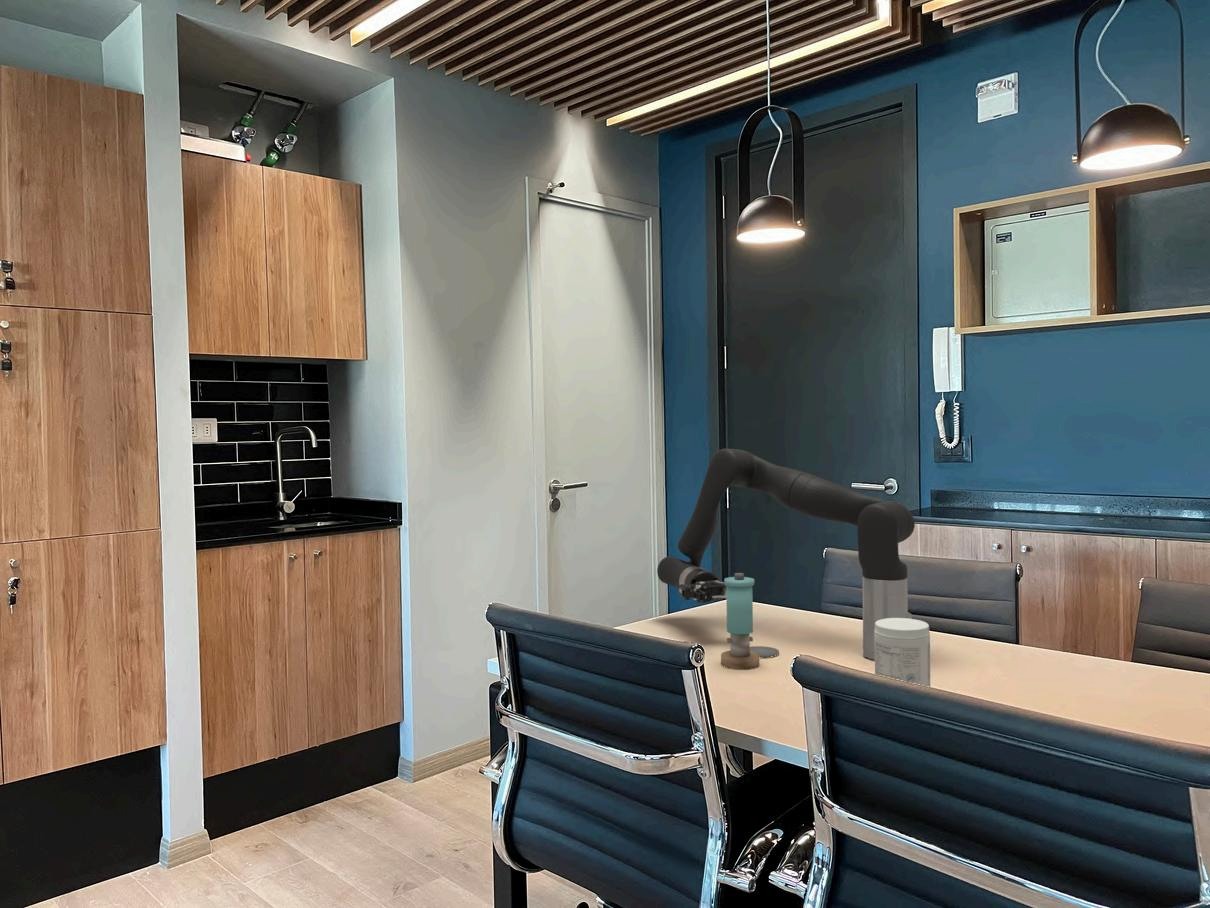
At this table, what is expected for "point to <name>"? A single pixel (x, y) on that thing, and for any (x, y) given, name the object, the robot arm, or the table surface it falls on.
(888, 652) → the supplement tub
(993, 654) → the table surface
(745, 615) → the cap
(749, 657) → the post
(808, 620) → the table surface
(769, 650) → the pad
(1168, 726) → the table surface
